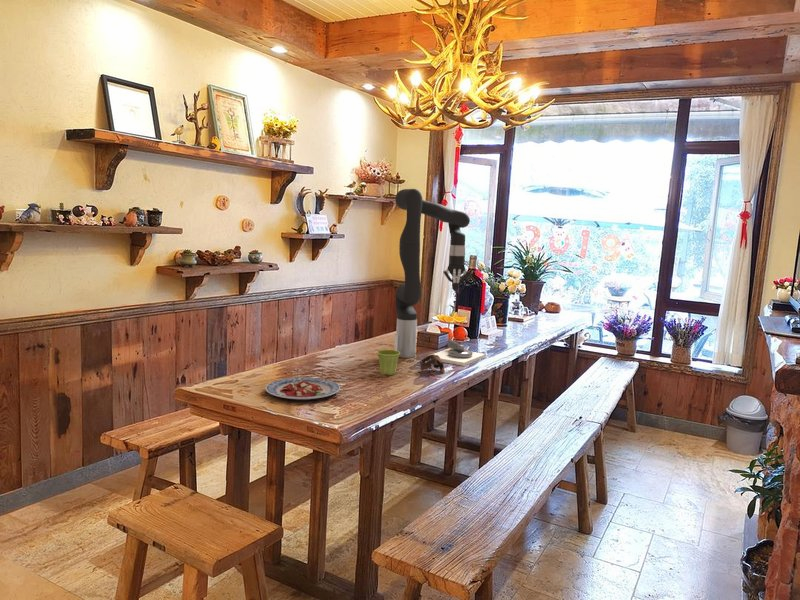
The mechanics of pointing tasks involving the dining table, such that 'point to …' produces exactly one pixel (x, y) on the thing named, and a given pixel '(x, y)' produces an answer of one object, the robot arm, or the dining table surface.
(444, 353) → the dial base
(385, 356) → the plant pot
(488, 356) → the dining table surface
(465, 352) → the dial
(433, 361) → the brown mottled lump
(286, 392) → the ceramic plate
